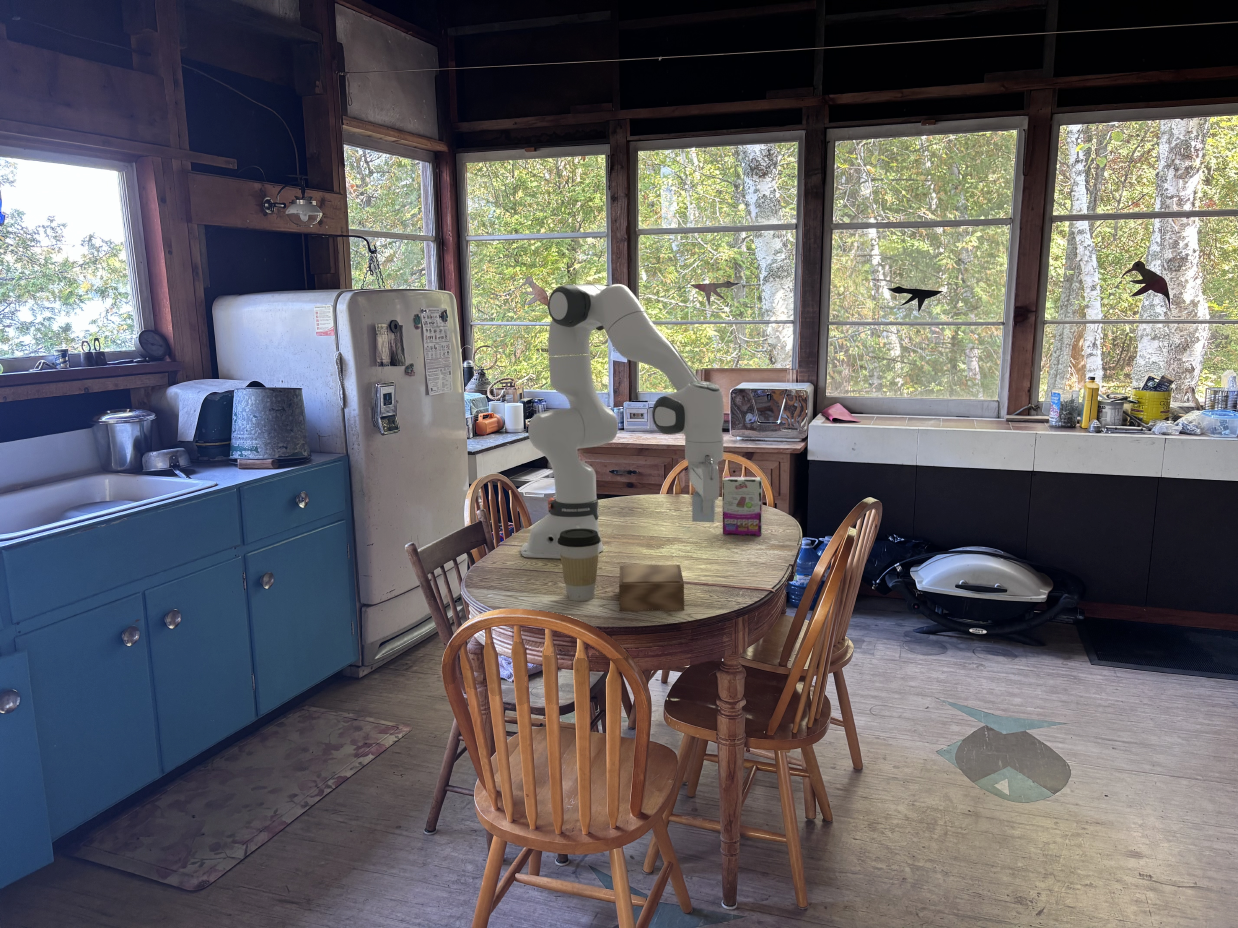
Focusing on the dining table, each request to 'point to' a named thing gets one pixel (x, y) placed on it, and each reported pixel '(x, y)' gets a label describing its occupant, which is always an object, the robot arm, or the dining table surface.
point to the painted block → (697, 509)
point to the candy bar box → (742, 506)
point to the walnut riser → (651, 588)
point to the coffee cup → (579, 562)
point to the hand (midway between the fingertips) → (703, 510)
